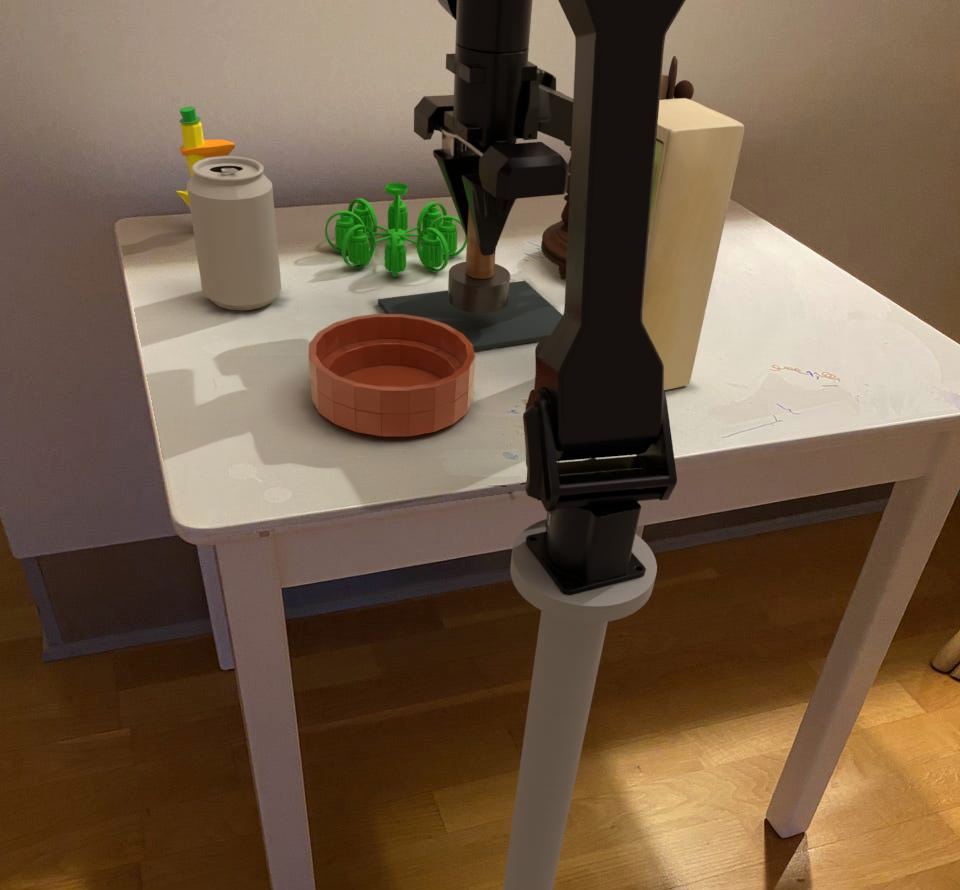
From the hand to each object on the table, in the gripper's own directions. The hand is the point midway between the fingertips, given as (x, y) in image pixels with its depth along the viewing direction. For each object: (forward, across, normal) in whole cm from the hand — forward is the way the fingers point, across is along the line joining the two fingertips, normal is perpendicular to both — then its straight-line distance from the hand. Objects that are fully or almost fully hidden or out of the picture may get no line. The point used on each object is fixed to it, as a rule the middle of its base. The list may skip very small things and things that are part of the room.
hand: (480, 248), depth 83 cm
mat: (+8, +2, -1) cm, 8 cm away
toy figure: (+8, +31, +18) cm, 37 cm away
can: (+8, +13, +19) cm, 24 cm away
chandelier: (+8, +19, +1) cm, 21 cm away
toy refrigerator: (+8, -12, -10) cm, 17 cm away
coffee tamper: (+5, 0, 0) cm, 5 cm away
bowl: (+8, -10, +12) cm, 17 cm away
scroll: (+8, +10, -20) cm, 24 cm away
